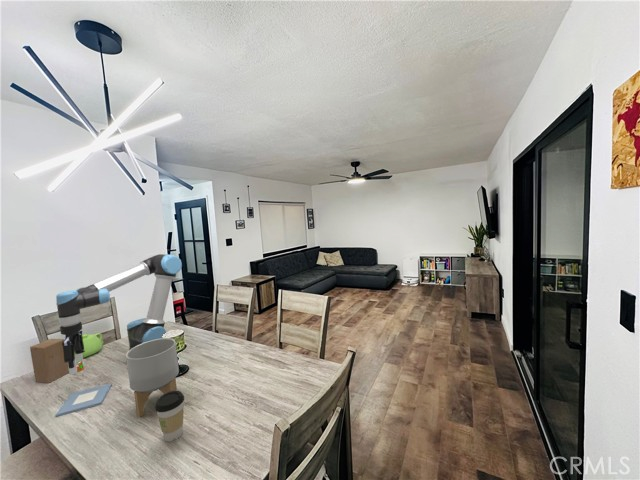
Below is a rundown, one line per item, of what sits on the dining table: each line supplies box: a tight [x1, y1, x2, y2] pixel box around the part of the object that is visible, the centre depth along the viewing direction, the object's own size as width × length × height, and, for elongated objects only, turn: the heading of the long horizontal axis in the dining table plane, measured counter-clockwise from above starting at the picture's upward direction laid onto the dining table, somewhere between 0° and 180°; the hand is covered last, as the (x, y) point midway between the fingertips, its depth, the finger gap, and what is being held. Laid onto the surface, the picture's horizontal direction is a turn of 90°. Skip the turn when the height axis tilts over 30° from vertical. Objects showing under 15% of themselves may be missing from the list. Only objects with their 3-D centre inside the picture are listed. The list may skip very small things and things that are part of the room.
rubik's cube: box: [68, 361, 85, 374], centre depth 127 cm, size 4×5×5 cm
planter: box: [125, 337, 180, 418], centre depth 119 cm, size 19×19×26 cm
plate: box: [54, 382, 113, 418], centre depth 125 cm, size 16×16×1 cm
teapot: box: [75, 332, 104, 359], centre depth 169 cm, size 22×15×13 cm
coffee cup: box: [154, 390, 185, 442], centre depth 100 cm, size 10×10×15 cm
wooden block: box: [29, 338, 69, 384], centre depth 145 cm, size 10×10×20 cm
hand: (76, 370), depth 127 cm, fingers closed on rubik's cube, 6 cm apart
